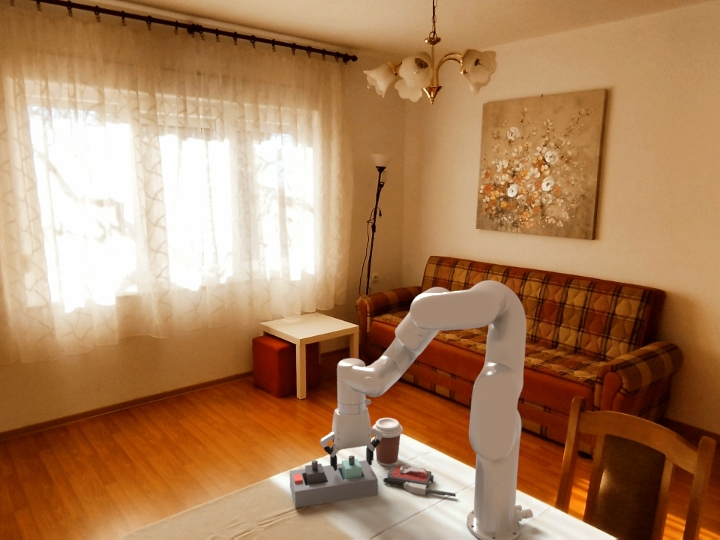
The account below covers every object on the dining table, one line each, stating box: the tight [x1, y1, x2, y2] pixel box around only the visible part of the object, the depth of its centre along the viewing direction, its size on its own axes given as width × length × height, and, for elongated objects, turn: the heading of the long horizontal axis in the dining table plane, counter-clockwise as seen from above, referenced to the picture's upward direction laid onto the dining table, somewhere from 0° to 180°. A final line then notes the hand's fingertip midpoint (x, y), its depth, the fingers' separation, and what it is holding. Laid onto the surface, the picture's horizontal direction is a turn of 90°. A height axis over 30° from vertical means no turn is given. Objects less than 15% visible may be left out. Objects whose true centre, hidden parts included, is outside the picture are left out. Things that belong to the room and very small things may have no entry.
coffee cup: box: [371, 417, 404, 467], centre depth 152 cm, size 9×9×12 cm
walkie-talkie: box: [383, 465, 457, 498], centre depth 140 cm, size 9×4×20 cm
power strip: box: [289, 459, 379, 509], centre depth 137 cm, size 22×10×9 cm, turn 105°
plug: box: [341, 455, 362, 480], centre depth 139 cm, size 4×4×9 cm
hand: (352, 465), depth 138 cm, fingers open, 9 cm apart
